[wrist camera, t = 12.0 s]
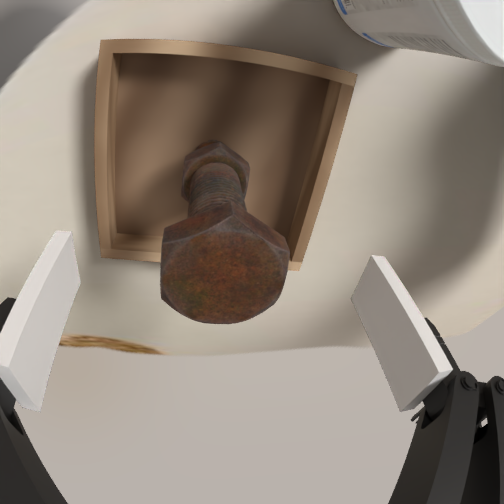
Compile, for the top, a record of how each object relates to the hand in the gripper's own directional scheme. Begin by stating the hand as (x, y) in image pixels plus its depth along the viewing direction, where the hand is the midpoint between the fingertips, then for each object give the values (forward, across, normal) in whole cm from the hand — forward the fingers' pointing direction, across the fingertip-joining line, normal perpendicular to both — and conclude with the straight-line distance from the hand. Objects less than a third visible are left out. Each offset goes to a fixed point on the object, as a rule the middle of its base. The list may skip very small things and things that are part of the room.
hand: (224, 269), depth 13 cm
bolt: (+14, 0, 0) cm, 14 cm away
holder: (+15, 0, 0) cm, 15 cm away
